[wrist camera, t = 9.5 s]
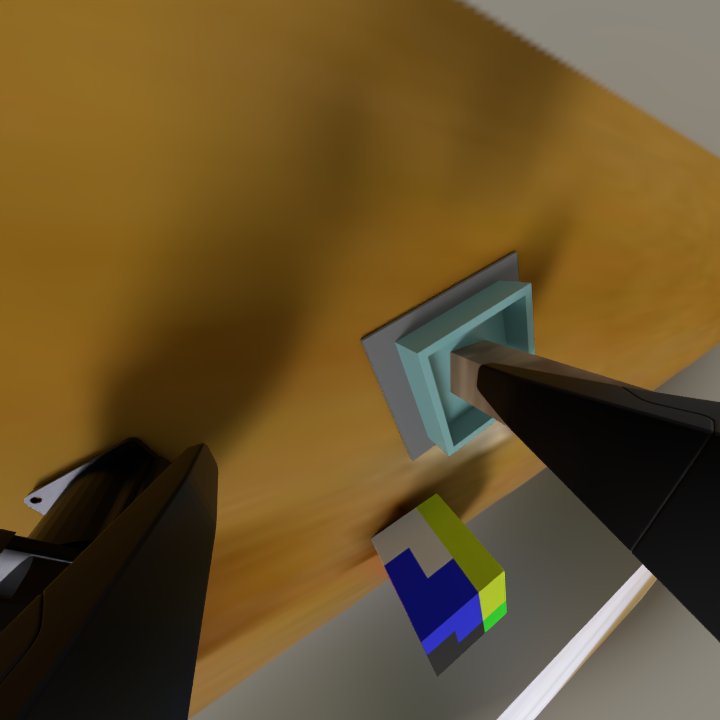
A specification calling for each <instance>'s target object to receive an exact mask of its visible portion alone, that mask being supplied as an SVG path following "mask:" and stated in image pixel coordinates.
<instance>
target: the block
mask: <svg viewBox="0 0 720 720" xmlns="http://www.w3.org/2000/svg"><path fill="white" fill-rule="evenodd" d="M489 362H493V363H498V364H504V365H509V366H515V367H520V368H526V369H531V370H537V371H542V372H547V373H553V374H558V375H564V376H569V377H575V378H580V379H586V380H591V381H597V382H602V383H608V384H613V385H618V386H620V387H622V386H624V387H630V388H635V389H641V390H647V389H643V388H640V387H637V386H634V385H630V384H627V383H624V382H621V381H618V380H614V379H611V378H608V377H605V376H601V375H598V374H595V373H592V372H588V371H585V370H582V369H579V368H575V367H572V366H569V365H566V364H562V363H559V362H556V361H553V360H549V359H546V358H543V357H540V356H536V355H533V354H530V353H527V352H523V351H520V350H517V349H514V348H510V347H507V346H504V345H501V344H497V343H494V342H491V341H488V340H483V341H480V342H477V343H474V344H472V345H469V346H466V347H463V348H460V349H457V350H455V351H452V352H450V392H451V393H453V394H454V395H456V396H458V397H459V398H461V399H463V400H464V401H466V402H468V403H469V404H471V405H473V406H474V407H476V408H477V409H479V410H481V411H482V412H484V413H486V414H487V415H489V416H491V417H492V418H494V419H496V420H497V421H499V422H501V423H502V424H504V425H506V424H505V423H504V422H503V420H502V419H501V418H500V417H499V416H498V414H497V413H496V412H495V411H494V410H493V408H492V407H491V406H490V405H489V403H488V402H487V401H486V400H485V399H484V397H483V396H482V395H481V394H480V392H479V391H478V389H477V385H476V384H477V375H478V368H479V366H480V365H482V364H486V363H489ZM647 391H650V390H647ZM652 392H653V391H652ZM506 426H507V425H506ZM507 427H508V426H507Z"/></svg>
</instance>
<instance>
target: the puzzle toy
mask: <svg viewBox="0 0 720 720" xmlns="http://www.w3.org/2000/svg"><path fill="white" fill-rule="evenodd" d="M371 540H372V542H373V544H374V547H375V549H376V551H377V553H378V555H379V557H380V559H381V561H382V563H383V565H384V568H385V570H386V572H387V574H388V576H389V578H390V580H391V582H392V584H393V586H394V588H395V590H396V592H397V595H398V596H399V599H400V601H401V603H402V605H403V607H404V609H405V611H406V613H407V615H408V617H409V619H410V621H411V623H412V626H413V627H414V630H415V632H416V634H417V636H418V638H419V640H420V642H421V644H422V646H423V648H424V650H425V652H426V654H427V656H428V658H429V661H430V663H431V665H432V667H433V669H434V671H435V673H436V675H437V676H439V675H440V674H441V673H442V672H443V671H444V670H445V669H446V668H447V667H448V666H449V665H450V664H452V663H453V662H454V661H455V660H456V659H457V658H458V657H459V656H460V655H461V654H462V653H464V652H465V651H466V650H467V649H468V648H469V647H470V646H471V645H472V644H473V643H474V642H476V641H477V639H479V638H480V637H481V636H482V635H483V634H484V633H485V632H486V631H487V630H489V629H490V628H491V627H492V626H493V625H494V624H495V623H496V622H497V621H498V620H499V619H500V618H501V617H503V616H504V615H505V614H506V613H507V611H506V591H505V573H504V570H503V569H502V567H501V566H500V565H499V564H498V563H497V561H496V560H495V559H494V558H493V557H492V556H491V555H490V553H489V552H488V551H487V550H486V549H485V548H484V547H483V545H482V544H481V543H480V542H479V541H478V540H477V539H476V537H475V536H474V535H473V534H472V533H471V532H470V531H469V529H468V528H467V527H466V526H465V525H464V524H463V522H462V521H461V520H460V519H459V518H458V517H457V515H456V514H455V513H454V512H453V511H452V510H451V509H450V507H449V506H448V505H447V504H446V503H445V502H444V501H443V499H442V498H441V497H440V496H439V495H438V494H437V493H436V494H435V495H433V496H432V497H430V498H429V499H427V500H426V501H425V502H423V503H422V504H420V505H419V506H417V507H416V508H415V509H413V510H412V511H410V512H409V513H407V514H406V515H404V516H403V517H402V518H400V519H399V520H397V521H396V522H394V523H393V524H392V525H390V526H389V527H387V528H386V529H384V530H383V531H381V532H380V533H379V534H377V535H376V536H374V537H373V538H371Z"/></svg>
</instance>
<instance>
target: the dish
mask: <svg viewBox="0 0 720 720" xmlns="http://www.w3.org/2000/svg"><path fill="white" fill-rule="evenodd" d="M483 340H488V341H491V342H494V343H497V344H501V345H504V346H507V347H510V348H514V349H517V350H520V351H523V352H527V353H530V354H533V355H535V348H534V328H533V307H532V286H531V283H530V282H515V281H500V280H499V281H497V282H495V283H494V284H492V285H490V286H489V287H487V288H485V289H484V290H482V291H480V292H479V293H477V294H475V295H473V296H472V297H470V298H468V299H467V300H465V301H463V302H462V303H460V304H458V305H457V306H455V307H453V308H452V309H450V310H448V311H447V312H445V313H443V314H442V315H440V316H438V317H437V318H435V319H433V320H432V321H430V322H428V323H427V324H425V325H423V326H422V327H420V328H418V329H417V330H415V331H413V332H411V333H410V334H408V335H406V336H405V337H403V338H401V339H400V340H398V341H396V342H395V344H396V347H397V350H398V353H399V355H400V358H401V361H402V364H403V367H404V370H405V373H406V375H407V378H408V381H409V384H410V387H411V390H412V392H413V395H414V398H415V401H416V404H417V407H418V410H419V412H420V415H421V418H422V421H423V424H424V427H425V429H426V432H427V435H428V438H429V439H431V440H432V441H433V442H434V443H435V444H436V445H437V446H438V447H439V448H440V449H442V450H443V451H444V452H445V453H446V454H447V455H448V456H450V455H452V454H453V453H454V452H456V451H457V450H458V449H460V448H461V447H462V446H464V445H465V444H466V443H468V442H469V441H470V440H472V439H473V438H474V437H476V436H477V435H478V434H480V433H481V432H482V431H484V430H485V429H486V428H488V427H489V426H490V425H491V424H493V423H494V422H495V421H497V420H496V419H494V418H492V417H491V416H489V415H487V414H486V413H484V412H482V411H481V410H479V409H477V408H476V407H474V406H473V405H471V404H469V403H468V402H466V401H464V400H463V399H461V398H459V397H458V396H456V395H454V394H453V393H451V392H450V352H452V351H455V350H457V349H460V348H463V347H466V346H469V345H472V344H474V343H477V342H480V341H483Z"/></svg>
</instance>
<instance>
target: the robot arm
mask: <svg viewBox="0 0 720 720" xmlns="http://www.w3.org/2000/svg"><path fill="white" fill-rule="evenodd" d="M476 385H477V389H478V391H479V392H480V394H481V395H482V396H483V397H484V399H485V400H486V401H487V402H488V403H489V405H490V406H491V407H492V408H493V410H494V411H495V412H496V413H497V414H498V416H499V417H500V418H501V419H502V420H503V422H504V423H505V424H506V425H507V426H508V427H509V428H510V429H511V430H512V431H513V432H514V433H515V434H516V435H517V436H518V437H519V438H520V439H521V440H522V441H523V442H524V443H525V444H526V446H527V447H528V448H529V449H530V450H531V451H532V452H533V453H534V454H535V455H536V456H537V457H538V458H539V459H540V460H541V461H542V462H543V463H544V464H545V465H546V466H547V467H548V468H549V469H550V470H551V471H552V472H553V473H554V474H555V475H556V476H557V477H558V478H559V479H560V480H561V481H562V482H563V483H564V484H565V485H566V486H567V487H568V488H569V489H570V490H571V491H572V492H573V493H574V494H575V495H576V496H577V497H578V498H579V499H580V500H581V501H582V502H583V503H584V504H585V505H586V507H587V508H588V509H589V510H590V511H591V512H592V513H593V514H594V515H595V516H596V517H597V518H598V519H599V520H600V521H601V522H602V523H603V524H604V525H605V526H606V527H607V528H608V529H609V530H610V531H611V532H612V533H613V534H614V535H615V536H616V537H617V538H618V539H619V540H620V541H621V542H622V543H623V544H624V545H625V546H626V547H627V548H628V549H629V550H630V551H632V554H633V555H634V556H635V557H636V558H637V559H638V560H639V561H640V562H641V563H642V564H643V565H644V566H645V567H646V568H647V569H648V570H649V571H650V572H651V573H652V574H653V575H654V576H655V577H656V578H657V579H658V580H659V581H660V582H661V583H662V584H663V585H664V586H665V587H666V588H667V589H668V590H669V591H670V592H671V593H672V594H673V595H674V596H675V597H676V598H677V599H678V600H679V601H680V602H681V603H682V605H683V606H684V607H686V609H687V610H688V611H689V612H691V614H692V615H693V616H694V617H695V618H696V619H697V620H698V621H699V622H700V623H701V624H702V625H703V626H704V627H705V628H706V629H707V630H708V631H709V632H710V633H711V634H712V635H713V636H714V637H715V638H716V639H717V640H718V641H719V642H720V402H715V401H709V400H702V399H695V398H689V397H683V396H676V395H670V394H664V393H658V392H652V391H647V390H641V389H635V388H630V387H624V386H622V387H620V386H618V385H613V384H608V383H602V382H597V381H591V380H586V379H580V378H575V377H569V376H564V375H558V374H553V373H547V372H542V371H537V370H531V369H526V368H520V367H515V366H509V365H504V364H498V363H493V362H489V363H486V364H482V365H480V366H479V368H478V375H477V384H476ZM128 445H134V446H135V447H133V448H132V447H128ZM217 491H218V467H217V463H216V461H215V459H214V457H213V455H212V454H211V452H210V450H209V448H208V446H207V445H206V444H204V443H202V444H198V445H195V446H191V447H188V448H187V449H186V450H185V451H184V452H183V453H182V454H181V455H180V456H179V457H178V458H177V459H176V460H175V461H174V462H173V463H172V464H170V463H169V462H168V461H167V460H166V459H164V458H163V457H161V456H158V455H157V454H156V453H155V452H154V451H152V450H151V449H150V448H149V447H148V446H147V445H145V444H144V443H143V442H142V441H141V440H139V439H138V438H129V439H126V440H124V441H122V442H121V443H119V444H117V445H115V446H113V447H111V448H110V449H108V450H106V451H104V452H102V453H100V454H99V455H97V456H95V457H93V458H91V459H89V460H88V461H86V462H84V463H82V464H80V465H78V466H77V467H75V468H73V469H71V470H69V471H67V472H66V473H64V474H62V475H60V476H58V477H56V478H55V479H53V480H51V481H49V482H47V483H45V484H44V485H42V486H40V487H38V488H36V489H34V490H33V491H31V492H30V493H29V494H28V495H27V496H26V497H25V499H24V503H25V504H26V505H27V506H29V507H31V508H32V509H34V510H36V511H38V512H40V513H41V514H43V515H44V517H43V518H42V519H41V521H40V522H39V523H38V525H37V526H36V527H35V529H34V530H33V531H32V533H31V534H30V535H29V536H28V538H26V537H21V536H17V535H15V533H16V532H13V531H8V530H4V529H0V720H187V719H188V713H189V706H190V699H191V693H192V686H193V679H194V673H195V666H196V659H197V652H198V646H199V639H200V632H201V626H202V619H203V612H204V606H205V599H206V592H207V585H208V579H209V572H210V565H211V559H212V552H213V545H214V539H215V531H216V520H217ZM35 497H41V498H40V499H38V498H35Z"/></svg>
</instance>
